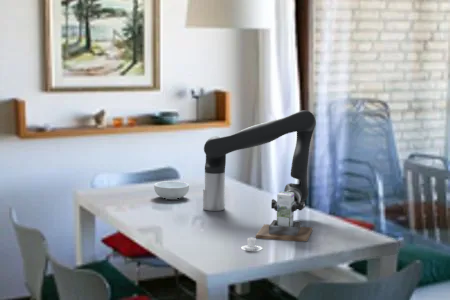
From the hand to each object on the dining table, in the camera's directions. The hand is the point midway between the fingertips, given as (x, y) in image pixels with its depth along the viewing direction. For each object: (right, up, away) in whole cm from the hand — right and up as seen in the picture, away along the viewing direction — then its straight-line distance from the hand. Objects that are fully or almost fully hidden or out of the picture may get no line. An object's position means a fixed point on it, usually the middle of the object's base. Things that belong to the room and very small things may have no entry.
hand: (284, 208), depth 286 cm
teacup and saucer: (-17, -14, -17) cm, 28 cm away
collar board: (0, -10, +4) cm, 11 cm away
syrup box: (0, -8, +4) cm, 9 cm away
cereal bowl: (-50, -1, +69) cm, 85 cm away
